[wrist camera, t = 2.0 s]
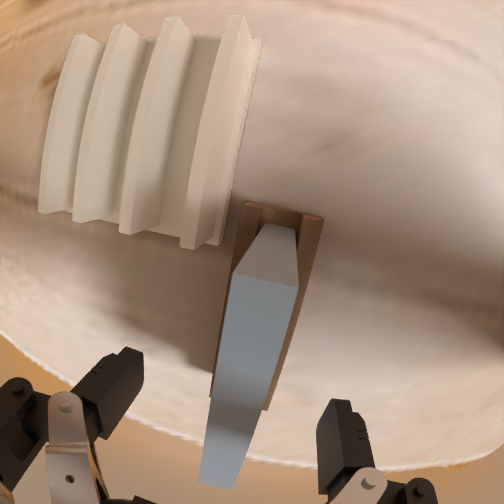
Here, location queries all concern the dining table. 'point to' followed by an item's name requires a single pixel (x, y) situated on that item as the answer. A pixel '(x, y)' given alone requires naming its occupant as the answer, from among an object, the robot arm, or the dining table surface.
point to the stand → (305, 248)
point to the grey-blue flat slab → (249, 350)
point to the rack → (150, 129)
